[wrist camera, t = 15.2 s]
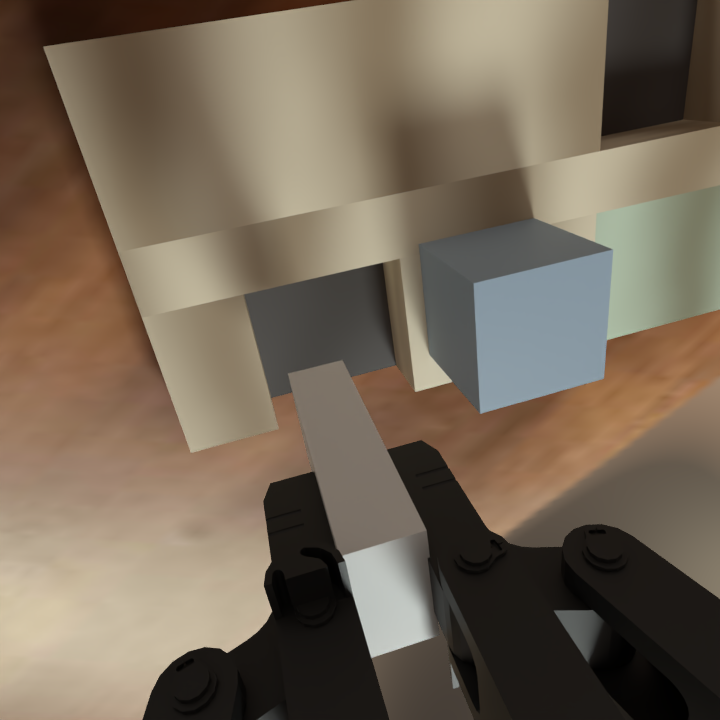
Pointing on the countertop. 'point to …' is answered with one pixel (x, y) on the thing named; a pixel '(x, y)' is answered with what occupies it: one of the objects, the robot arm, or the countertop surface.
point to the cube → (516, 310)
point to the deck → (388, 174)
